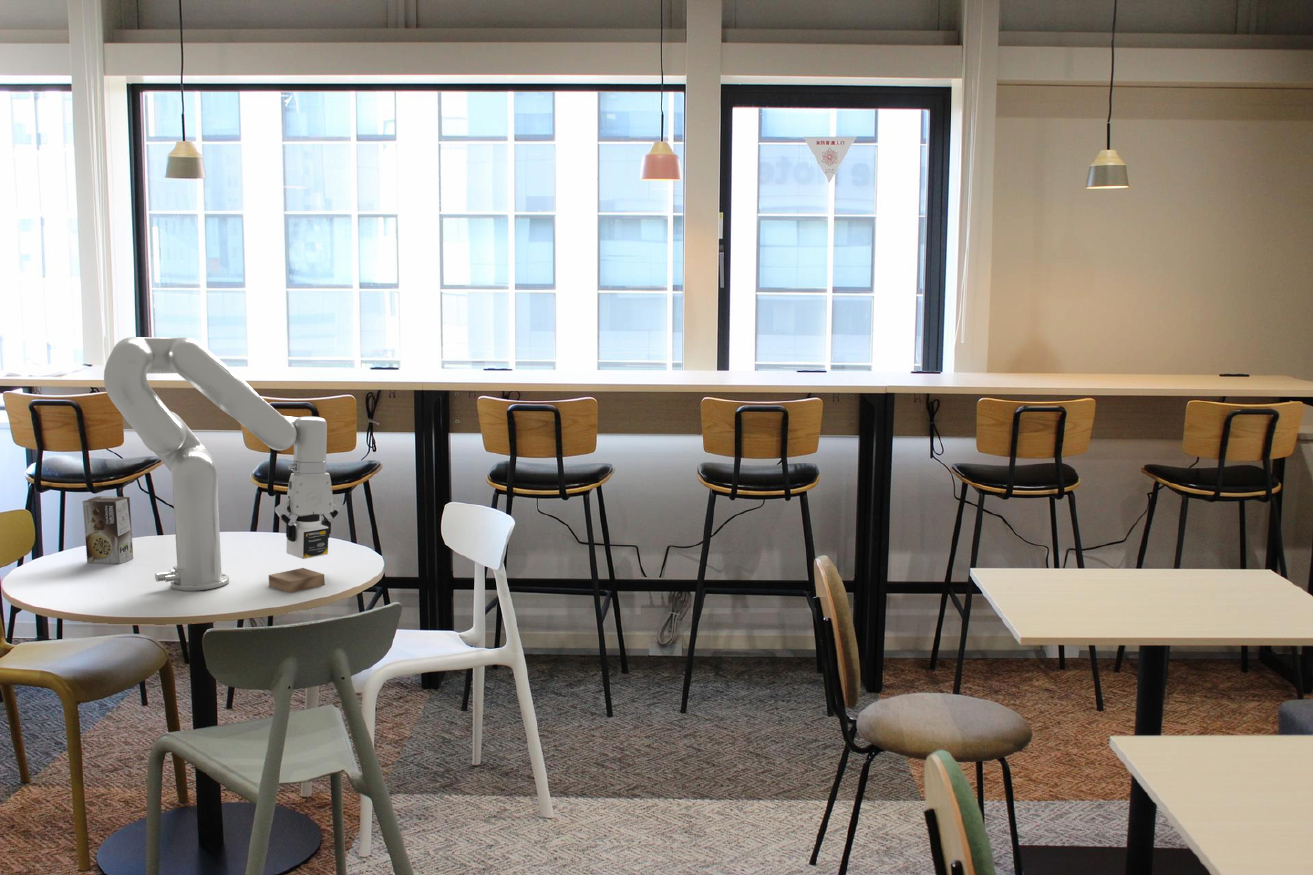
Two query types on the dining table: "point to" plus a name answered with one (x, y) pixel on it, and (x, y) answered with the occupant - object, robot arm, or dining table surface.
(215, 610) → the dining table surface
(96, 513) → the coffee box
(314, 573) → the walnut riser block
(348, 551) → the dining table surface
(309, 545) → the medicine bottle
